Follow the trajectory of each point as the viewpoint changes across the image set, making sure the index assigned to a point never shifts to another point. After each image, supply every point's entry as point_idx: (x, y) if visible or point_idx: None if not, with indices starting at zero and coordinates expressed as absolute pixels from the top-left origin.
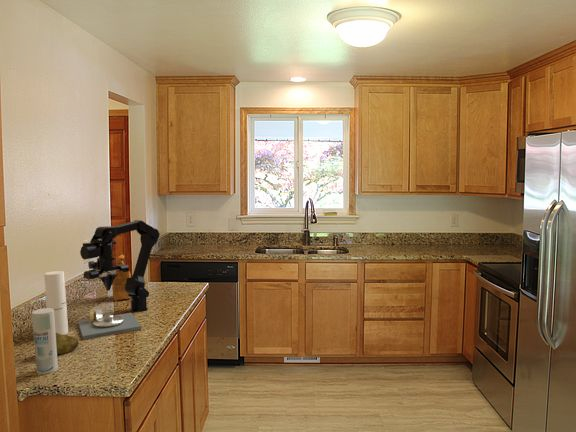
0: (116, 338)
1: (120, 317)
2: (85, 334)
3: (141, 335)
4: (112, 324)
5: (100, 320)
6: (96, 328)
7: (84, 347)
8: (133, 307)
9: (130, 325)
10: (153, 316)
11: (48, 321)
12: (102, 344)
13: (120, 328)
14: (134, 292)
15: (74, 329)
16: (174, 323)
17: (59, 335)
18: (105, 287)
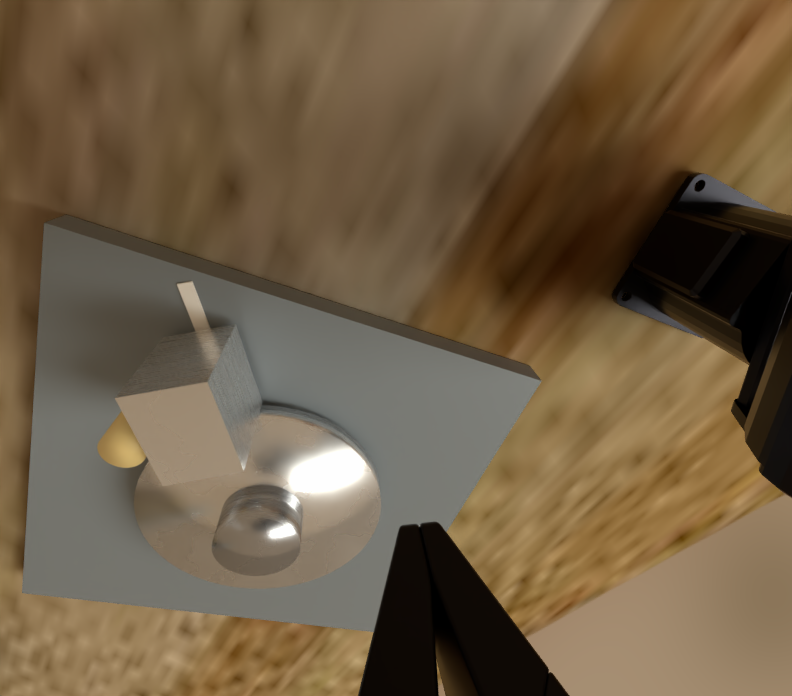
0: (218, 638)
1: (363, 513)
2: (45, 578)
3: (332, 662)
4: (248, 584)
5: (206, 480)
6: None
7: (26, 652)
8: (655, 284)
9: (349, 598)
10: (589, 480)
11: None
12: (126, 663)
13: (278, 606)
14: (758, 452)
15: (5, 334)
16: (540, 625)
17: None
18: (385, 589)
